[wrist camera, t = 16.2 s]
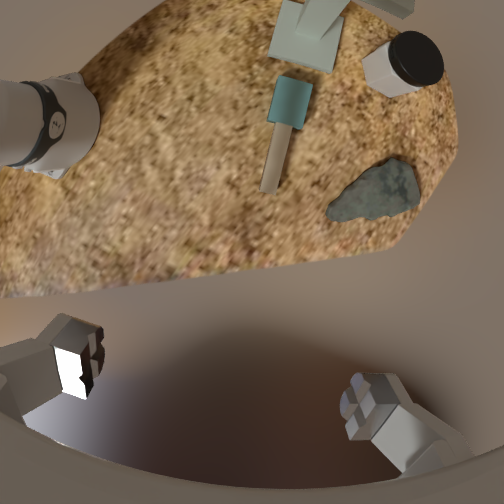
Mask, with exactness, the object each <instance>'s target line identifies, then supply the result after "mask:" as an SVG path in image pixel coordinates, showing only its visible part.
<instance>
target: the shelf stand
mask: <svg viewBox="0 0 504 504" xmlns="http://www.w3.org/2000/svg"><path fill="white" fill-rule="evenodd" d="M350 1H351V0H305V3H304V5H303V4H300V3H296V2H292V1H288V0H283V3H282V6H281V10H280V13H279V16H278V20H277V23H276V27H275V30H274V34H273V37H272V41H271V45H270V48H269V52H268V55H267V56H269V57H273V58H277V59H281V60H285V61H289V62H293V63H296V64H300V65H303V66H306V67H310V68H313V69H316V70H319V71H322V72H326V73H329V74H330V73H332V70H333V65H334V61H335V57H336V52H337V48H338V43H339V39H340V34H341V29H342V25H343V20H344V17H341V16H338V15H339V14H340V13H341V12H342V10H343V9H344V8H345V7H346V5H347V4H348V3H349V2H350ZM361 1H363V2H366V3H368V4H371V5H373V6H375V7H377V8H380V9H382V10H384V11H386V12H389V13H390V14H393V15H395V16H397V17H399V18H401V19H404V18H406V17H407V16H409V15H410V14H412V13H413V12H414V2H415V0H361Z"/></svg>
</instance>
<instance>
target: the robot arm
mask: <svg viewBox="0 0 504 504" xmlns="http://www.w3.org/2000/svg"><path fill="white" fill-rule="evenodd" d="M69 79H70V80H69ZM99 124H100V112H99V107H98V103H97V101H96V99H95V97H94V95H93V94H92V93H91V92H90V91H89V90H88V89H87V88H86V86H85V84H84V81H83V77H82V75H81V74H80V73H71V74H67V75H63V76H59V77H50V78H49V79H47V80H44V81H41V82H33V81H30V82H28V81H23V82H19V83H17V82H12V81H6V80H0V167H1V166H5V165H6V166H9V167H12V168H15V169H22V168H23V166H25V168H24V171H27V172H31V170H33V172H34V173H39V172H40V173H42V174H45V175H47V176H49V177H51V178H54V179H60V178H62V177H63V176H64V174H65V173H66V172H67V170H68V169H69V167H70V166H72V165H73V164H75V163H76V162H78V161H79V160H81V159H82V158H83V157H84V156H85V155H86V154H87V153H88V151H89V150H90V149H91V147H92V145H93V143H94V141H95V139H96V137H97V133H98V130H99ZM52 171H53V172H52ZM103 339H104V330H103V328H102V327H101V326H98V325H95V324H92V323H89V322H86V321H84V320H81V319H78V318H74V317H72V316H69V315H66V314H64V313H60V314H58V315H57V316H56V317H55V318H54V319H53V320H52V321H51V322H50V323H49V324H48V326H47V327H46V328H45V329H44V330H43V331H42V332H41V333H40V335H39V336H38V337H37V338H36V339H32V338H30V339H26V340H23V341H20V342H17V343H13V344H10V345H7V346H4V347H0V504H504V445H503V446H500V447H498V448H496V449H494V450H491V451H489V452H486V453H484V454H481V455H478V456H476V457H475V456H474V454H473V453H472V451H471V449H470V447H469V445H468V444H467V442H466V440H465V439H464V437H463V435H462V434H460V433H459V432H458V431H456V430H454V429H453V428H452V427H450V426H449V425H447V424H446V423H444V422H443V421H441V420H440V419H438V418H437V417H435V416H434V415H433V414H431V413H430V412H428V411H427V410H425V409H424V408H422V407H421V406H419V405H418V404H413V402H412V400H411V399H410V397H409V396H408V394H407V392H406V390H405V388H404V387H403V385H402V383H401V382H400V380H399V379H398V377H397V375H395V374H391V373H385V374H384V373H382V374H374V373H356V374H355V375H354V376H353V377H352V379H351V381H350V382H351V387H350V388H348V389H347V390H345V391H344V393H343V396H342V397H341V402H340V411H341V415H342V417H344V418H345V419H346V420H347V423H346V425H345V427H346V430H347V433H348V436H349V439H350V440H371V441H372V442H373V443H374V444H375V445H376V447H377V448H378V449H379V450H380V451H382V453H383V454H384V455H385V456H386V457H387V458H388V459H389V460H390V461H391V462H392V463H393V464H394V465H395V466H396V467H397V468H398V469H399V470H400V471H401V472H402V474H401V475H400V476H399V477H398V478H397V479H393V480H388V481H382V482H376V483H369V484H362V485H354V486H345V487H334V488H319V489H256V488H241V487H230V486H220V485H213V484H206V483H199V482H192V481H187V480H181V479H176V478H171V477H166V476H162V475H157V474H153V473H149V472H145V471H141V470H137V469H134V468H130V467H127V466H123V465H120V464H117V463H113V462H110V461H107V460H104V459H101V458H99V457H96V456H93V455H90V454H87V453H85V452H82V451H80V450H77V449H75V448H72V447H69V446H67V445H65V444H62V443H60V442H58V441H55V440H53V439H51V438H49V437H47V436H45V435H43V434H41V433H39V432H37V431H35V430H32V429H31V428H29V427H27V425H26V423H25V421H24V419H23V417H22V416H23V415H25V414H27V413H28V412H30V411H32V410H34V409H35V408H37V407H39V406H40V405H42V404H44V403H46V402H47V401H49V400H51V399H52V398H54V397H56V396H57V395H59V394H61V393H62V391H64V392H67V393H69V394H72V395H75V396H78V397H80V398H84V399H87V397H88V396H89V394H90V392H91V390H92V388H93V386H94V382H93V378H95V377H98V376H99V374H100V373H101V371H102V367H103V364H104V358H105V349H104V347H103V346H102V344H101V342H102V340H103Z"/></svg>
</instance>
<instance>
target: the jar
mask: <svg viewBox="0 0 504 504" xmlns="http://www.w3.org/2000/svg"><path fill="white" fill-rule="evenodd" d="M362 65H363V69H364V74H365V78H366V83H367V85H368V86H369V87H371V88H373V89H375V90H377V91H379V92H380V93H382V94H384V95H386V96H387V97H389V98H391V97H395V96H399V95H402V94H406V93H410V92H414V91H418V90H420V89H421V88H422V87H425V86H429V85H433V84H435V83H437V82H438V81H439V80H440V79H441V78H442V76H443V72H444V62H443V59H442V55H441V53H440V51H439V49H438V48H437V46H436V45H435V44H434V43H433V41H432V40H430V39H429V38H428V37H427V36H425V35H423V34H422V33H419V32H416V31H406V32H403V33H401V34H399V35H397V36H396V37H395V38H394V39H392V41H390V42H389V41H388V42H387V43H385V44H383V45H382V46H380V47H378V48H377V49H376V51H374V52H372V53H371V54H369V55H368V56H366V57H365V58H363V59H362Z"/></svg>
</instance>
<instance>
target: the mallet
mask: <svg viewBox="0 0 504 504" xmlns="http://www.w3.org/2000/svg"><path fill="white" fill-rule="evenodd" d="M312 87H313V84H310V83H306V82H303V81H299V80H296V79H292V78H289V77H285V76H281V75H279V77H278V79H277V82H276V86H275V89H274V93H273V97H272V101H271V105H270V109H269V113H268V117H267V122H271V123H275V125H274V129H273V133H272V137H271V141H270V145H269V149H268V153H267V157H266V161H265V166H264V170H263V174H262V178H261V182H260V186H259V191H260V192H264V193H269V194H273V195H276V191H277V187H278V183H279V179H280V176H281V172H282V168H283V164H284V160H285V156H286V152H287V148H288V144H289V140H290V136H291V132H292V128H294V129H298V130H299V129H302V128H303V124H304V119H305V115H306V111H307V107H308V103H309V99H310V95H311V91H312Z"/></svg>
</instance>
